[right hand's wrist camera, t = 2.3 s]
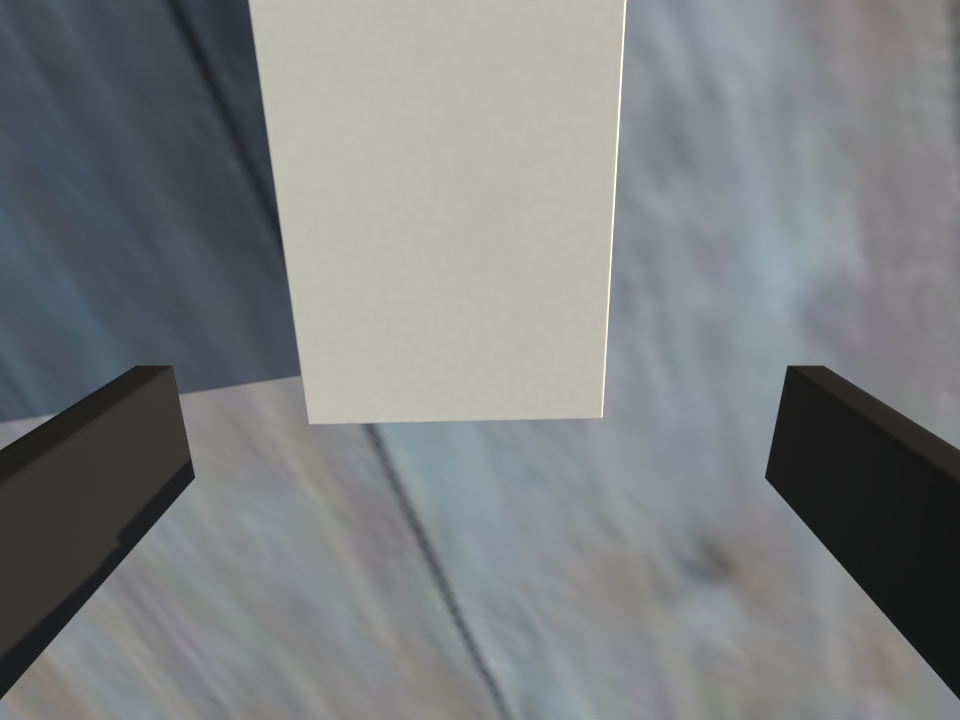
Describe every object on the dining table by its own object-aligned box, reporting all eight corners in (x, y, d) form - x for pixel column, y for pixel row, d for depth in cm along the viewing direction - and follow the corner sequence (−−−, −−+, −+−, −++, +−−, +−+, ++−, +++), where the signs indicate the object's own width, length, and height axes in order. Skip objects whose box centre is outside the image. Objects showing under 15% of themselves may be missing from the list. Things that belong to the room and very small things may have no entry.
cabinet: (313, -159, 23) (191, -388, 13) (577, -167, 23) (649, -402, 13) (362, 339, 30) (307, 425, 20) (563, 334, 30) (602, 419, 20)
